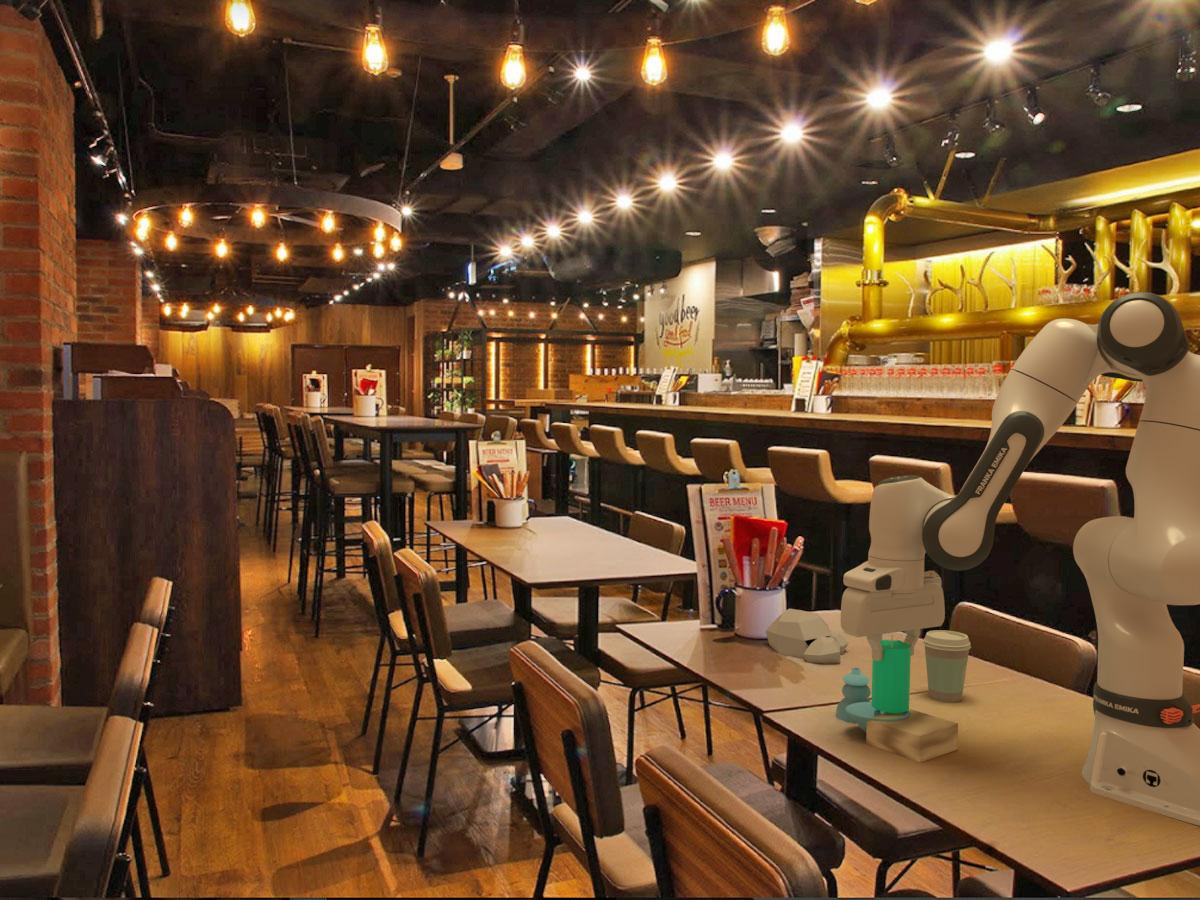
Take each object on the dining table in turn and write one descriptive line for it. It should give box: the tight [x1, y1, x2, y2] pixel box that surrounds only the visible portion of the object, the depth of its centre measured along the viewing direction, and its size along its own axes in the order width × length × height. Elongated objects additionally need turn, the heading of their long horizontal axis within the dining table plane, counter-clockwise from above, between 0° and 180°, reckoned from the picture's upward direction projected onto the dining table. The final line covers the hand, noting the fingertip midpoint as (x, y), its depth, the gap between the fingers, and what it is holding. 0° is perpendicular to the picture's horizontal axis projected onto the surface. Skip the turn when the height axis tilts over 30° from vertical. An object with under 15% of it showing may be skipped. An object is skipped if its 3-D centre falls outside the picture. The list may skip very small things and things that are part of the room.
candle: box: [870, 634, 912, 713], centre depth 164 cm, size 6×6×12 cm
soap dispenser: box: [835, 667, 911, 733], centre depth 168 cm, size 18×10×9 cm, turn 7°
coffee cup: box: [922, 629, 972, 703], centre depth 187 cm, size 8×8×12 cm
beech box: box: [865, 708, 959, 763], centre depth 160 cm, size 10×10×5 cm
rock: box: [765, 608, 850, 665], centre depth 218 cm, size 18×20×10 cm
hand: (892, 657), depth 164 cm, fingers closed on candle, 5 cm apart
